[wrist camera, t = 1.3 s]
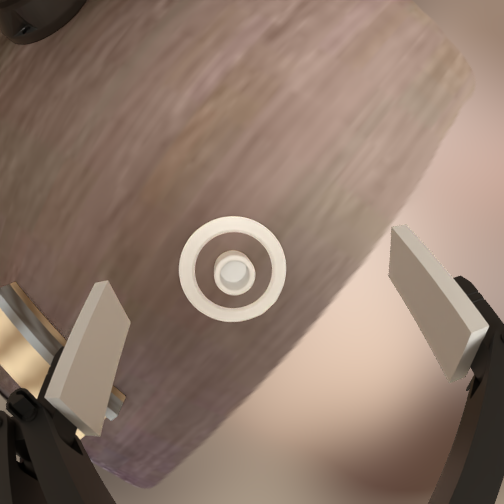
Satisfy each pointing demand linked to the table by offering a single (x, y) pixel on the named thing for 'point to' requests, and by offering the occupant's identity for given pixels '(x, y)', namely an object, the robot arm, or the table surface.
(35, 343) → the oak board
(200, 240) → the candle holder
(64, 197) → the table surface
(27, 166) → the table surface
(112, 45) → the table surface
